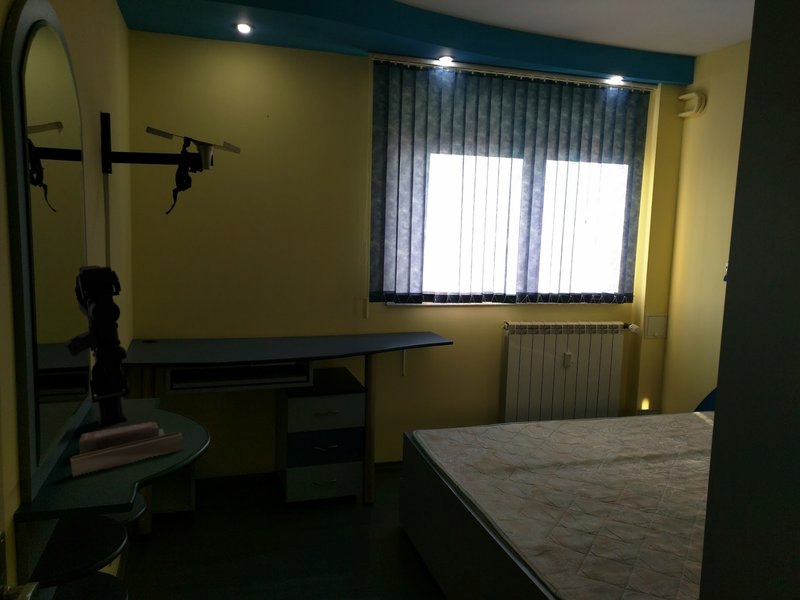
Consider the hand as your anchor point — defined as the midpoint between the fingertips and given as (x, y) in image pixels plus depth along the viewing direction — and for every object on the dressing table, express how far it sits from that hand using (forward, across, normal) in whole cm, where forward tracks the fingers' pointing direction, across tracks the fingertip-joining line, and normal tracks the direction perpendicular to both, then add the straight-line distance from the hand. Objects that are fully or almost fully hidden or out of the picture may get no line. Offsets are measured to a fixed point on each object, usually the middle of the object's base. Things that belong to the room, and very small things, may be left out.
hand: (111, 383), depth 142 cm
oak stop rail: (+13, +20, 0) cm, 24 cm away
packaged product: (+14, +10, 0) cm, 17 cm away
